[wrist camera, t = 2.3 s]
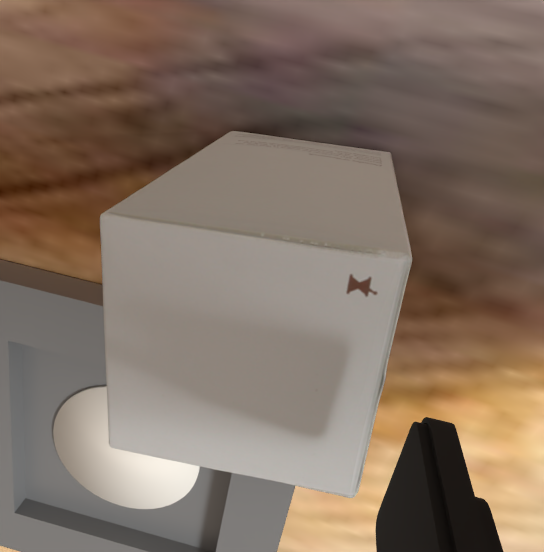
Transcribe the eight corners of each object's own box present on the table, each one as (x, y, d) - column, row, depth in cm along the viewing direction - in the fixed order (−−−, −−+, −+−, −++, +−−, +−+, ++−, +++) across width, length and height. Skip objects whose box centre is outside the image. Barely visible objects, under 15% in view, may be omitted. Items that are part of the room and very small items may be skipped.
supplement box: (227, 126, 23) (91, 199, 12) (395, 150, 22) (426, 255, 11) (216, 276, 26) (99, 452, 15) (363, 302, 25) (361, 509, 14)
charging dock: (331, 342, 26) (329, 363, 25) (263, 591, 35) (257, 621, 33) (-32, 251, 28) (-59, 265, 26) (-14, 511, 36) (-34, 535, 34)
